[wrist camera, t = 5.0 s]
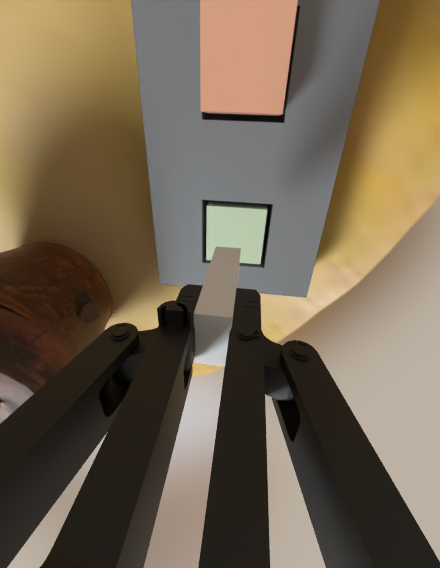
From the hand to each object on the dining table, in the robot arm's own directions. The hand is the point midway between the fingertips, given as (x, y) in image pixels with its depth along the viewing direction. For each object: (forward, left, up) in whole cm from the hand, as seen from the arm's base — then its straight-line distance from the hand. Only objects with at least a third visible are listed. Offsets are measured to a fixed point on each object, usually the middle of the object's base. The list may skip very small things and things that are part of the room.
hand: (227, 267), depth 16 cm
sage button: (0, 0, -10) cm, 10 cm away
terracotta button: (-11, 0, -8) cm, 13 cm away
